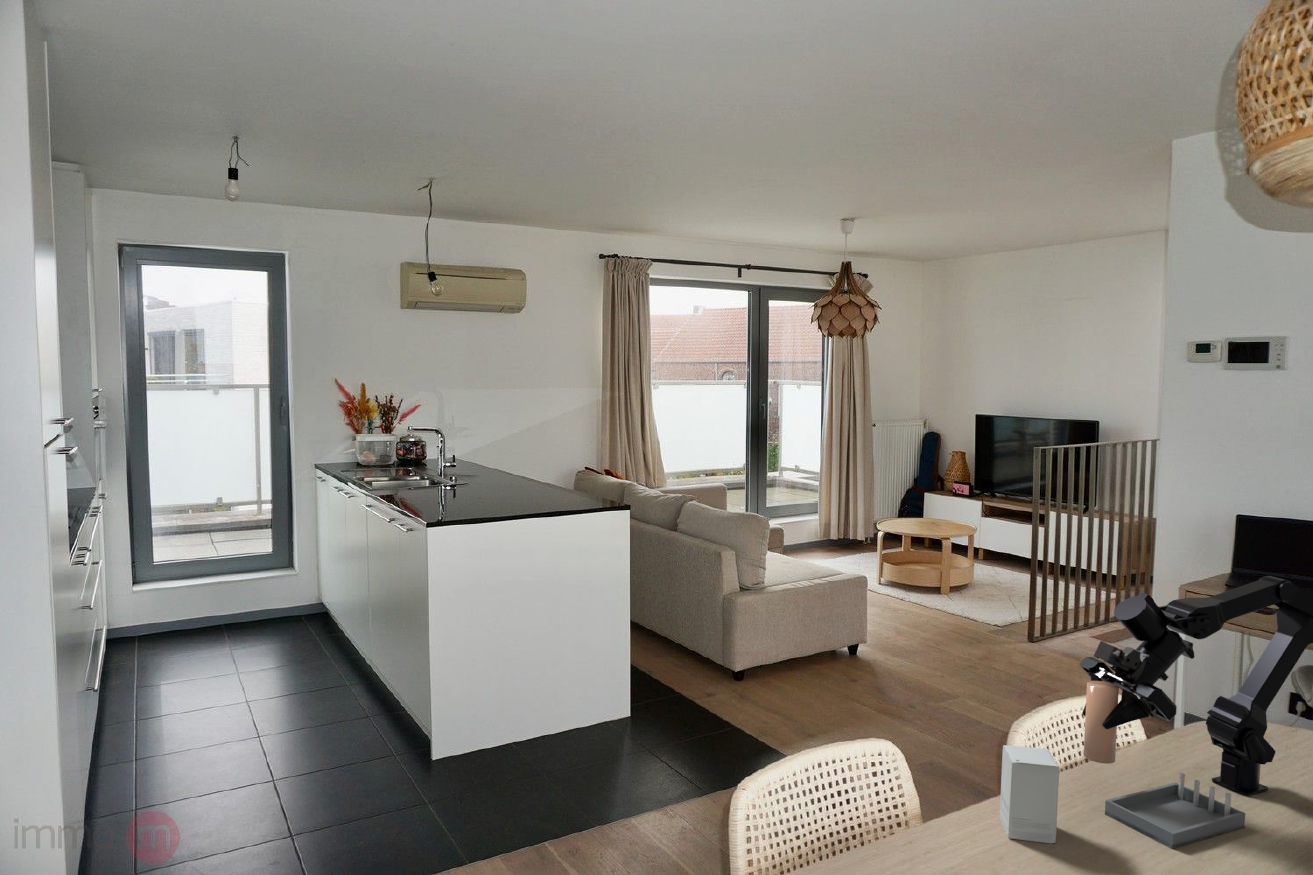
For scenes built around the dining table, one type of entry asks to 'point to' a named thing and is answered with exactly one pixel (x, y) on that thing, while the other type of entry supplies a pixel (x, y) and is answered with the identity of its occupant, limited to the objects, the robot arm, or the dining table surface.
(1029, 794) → the supplement box
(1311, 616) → the robot arm
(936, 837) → the dining table surface
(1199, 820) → the drying tray
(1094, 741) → the peach pillar candle
